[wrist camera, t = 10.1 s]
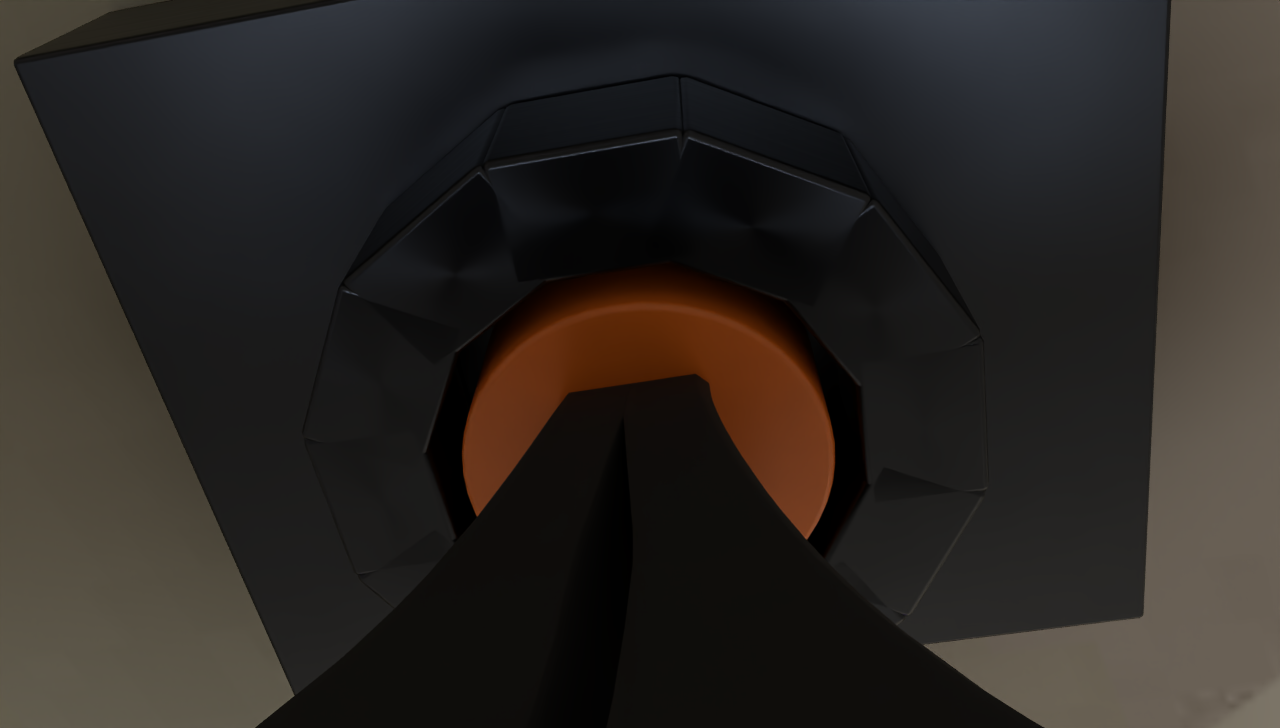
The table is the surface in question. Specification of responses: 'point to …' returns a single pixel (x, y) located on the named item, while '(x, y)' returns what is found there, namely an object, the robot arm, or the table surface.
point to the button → (658, 374)
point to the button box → (639, 263)
